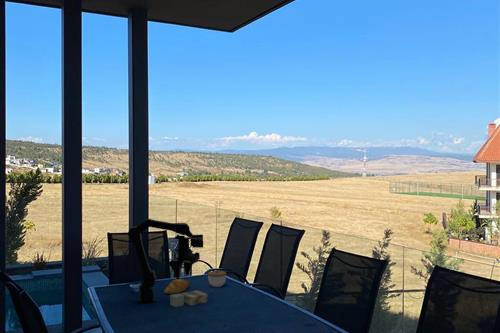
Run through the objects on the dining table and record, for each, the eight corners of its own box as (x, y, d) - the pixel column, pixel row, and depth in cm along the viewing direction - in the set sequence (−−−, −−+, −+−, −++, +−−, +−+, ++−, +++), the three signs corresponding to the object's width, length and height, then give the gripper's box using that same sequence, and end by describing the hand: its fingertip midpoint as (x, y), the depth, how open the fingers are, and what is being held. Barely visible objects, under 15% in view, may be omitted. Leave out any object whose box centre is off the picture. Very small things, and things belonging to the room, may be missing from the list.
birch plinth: (190, 305, 234) (190, 297, 234) (180, 300, 241) (180, 293, 241) (207, 302, 240) (207, 294, 240) (197, 297, 248) (197, 290, 248)
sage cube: (175, 307, 231) (175, 297, 231) (170, 304, 235) (170, 294, 235) (183, 305, 234) (183, 295, 234) (178, 303, 238) (178, 293, 238)
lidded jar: (207, 284, 278) (207, 268, 278) (224, 283, 280) (225, 267, 280) (208, 288, 267) (208, 272, 268) (227, 287, 269) (227, 271, 269)
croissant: (169, 302, 252) (174, 289, 250) (156, 291, 256) (161, 279, 254) (192, 292, 270) (197, 281, 269) (180, 282, 275) (185, 271, 273)
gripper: (187, 251, 231) (186, 282, 231) (205, 246, 248) (204, 275, 248) (168, 249, 236) (167, 280, 236) (187, 244, 253) (186, 273, 253)
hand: (182, 277), depth 243 cm, fingers open, 9 cm apart
